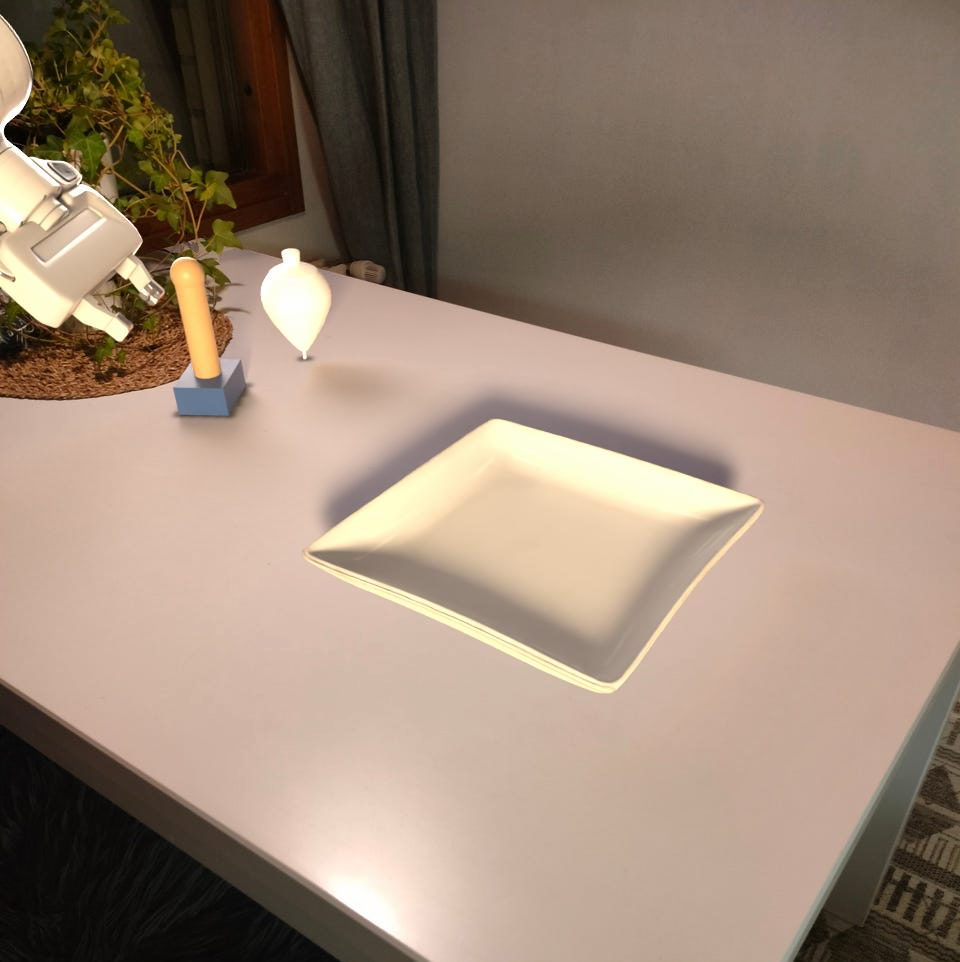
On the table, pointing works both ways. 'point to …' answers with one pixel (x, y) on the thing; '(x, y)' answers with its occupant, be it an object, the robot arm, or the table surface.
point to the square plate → (541, 547)
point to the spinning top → (296, 299)
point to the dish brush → (202, 350)
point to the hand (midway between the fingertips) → (144, 316)
